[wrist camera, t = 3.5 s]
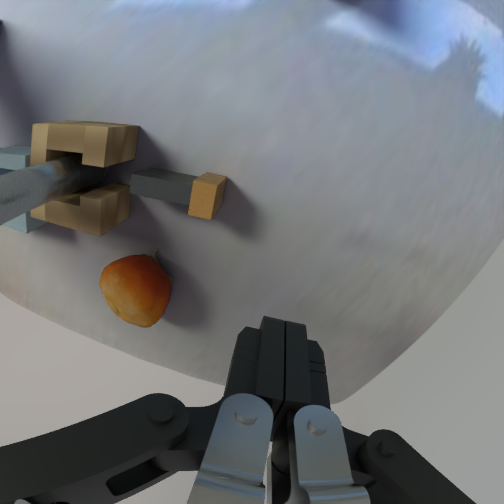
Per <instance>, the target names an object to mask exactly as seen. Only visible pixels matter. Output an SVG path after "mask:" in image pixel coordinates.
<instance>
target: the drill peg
mask: <svg viewBox="0 0 504 504" xmlns="http://www.w3.org/2000/svg"><path fill="white" fill-rule="evenodd" d="M82 158H83V153H81V154H77V155H72V156H68V157H63V158H59V159H55V160H51V161H47V162H43V163H40V164H36V165H32V166H29V167H25V168H22V169H19V170H15V171H12V172H9V173H6V174H3V175H0V225H2V224H4V223H6V222H8V221H10V220H12V219H14V218H16V217H18V216H20V215H22V214H24V213H26V212H28V211H31V210H33V209H35V208H37V207H39V206H41V205H44V204H46V203H48V202H50V201H53V200H55V199H57V198H60V197H62V196H64V195H67V194H69V193H72V192H74V191H77V190H79V189H82V188H84V187H87V186H89V185H92V184H95V183H97V182H100V181H102V180H103V179H104V178H105V177H106V175H107V172H108V166H107V167H98V166H91V165H85V164H82Z"/></svg>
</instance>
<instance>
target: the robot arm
mask: <svg viewBox="0 0 504 504" xmlns="http://www.w3.org/2000/svg"><path fill="white" fill-rule="evenodd" d="M0 21H1V20H0ZM324 364H325V360H324V353H323V351H322V349H321V347H320V346H319V344H318V343H317V341H313V340H308V339H307V332H306V325H304V324H299V323H295V322H290V321H284V320H280V319H276V318H271V317H267V316H264V317H263V319H262V322H261V325H260V328H259V329H255V328H251V327H247V326H246V327H245V328H244V329H243V330H242V331H241V332H240V333H239V334H238V337H237V341H236V345H235V349H234V353H233V357H232V360H231V364H230V369H229V373H228V378H227V382H226V387H225V391H224V396H223V397H222V399H221V400H220V401H218V402H217V403H215V404H213V405H210V406H205V407H185V405H184V404H183V403H182V402H181V401H180V400H178V399H177V398H175V397H173V396H171V395H168V394H162V393H154V394H149V395H146V396H144V397H142V398H139V399H137V400H135V401H132V402H130V403H127V404H125V405H123V406H120V407H118V408H115V409H113V410H110V411H108V412H105V413H103V414H100V415H97V416H95V417H92V418H90V419H87V420H84V421H81V422H79V423H76V424H73V425H70V426H68V427H65V428H62V429H59V430H56V431H53V432H50V433H47V434H43V435H40V436H37V437H34V438H31V439H27V440H24V441H21V442H17V443H13V444H10V445H6V446H2V447H0V504H114V503H117V502H119V501H121V500H123V499H126V498H128V497H130V496H132V495H134V494H136V493H138V492H140V491H142V490H144V489H146V488H148V487H150V486H152V485H154V484H156V483H158V482H160V481H162V480H164V479H166V478H167V477H169V476H171V475H173V474H175V473H176V472H178V471H195V470H196V471H198V470H199V471H198V474H197V476H196V479H195V482H194V485H193V487H192V490H191V493H190V496H189V499H188V501H187V504H264V499H265V485H263V476H264V470H265V464H266V459H267V453H268V448H269V442H270V441H271V442H273V443H272V452H271V453H270V455H269V456H268V459H267V504H476V503H475V502H474V501H472V500H471V499H470V498H469V497H468V496H467V495H465V494H464V493H463V492H462V491H461V490H459V489H458V488H457V487H456V486H455V485H454V484H453V483H452V482H450V481H449V480H448V479H447V478H446V477H445V476H443V475H442V474H441V473H440V472H439V471H438V470H437V469H435V467H433V466H432V465H431V464H430V463H429V462H428V461H427V460H426V459H425V458H423V457H422V456H421V455H420V454H419V453H418V452H417V451H416V450H414V448H412V447H411V446H410V445H409V444H408V443H407V442H406V441H405V440H404V439H403V438H402V437H401V436H399V435H398V434H397V433H395V432H393V431H390V430H385V429H382V430H377V431H375V432H373V433H372V434H371V435H370V436H366V435H362V434H360V433H357V432H354V431H351V430H349V429H347V428H344V427H343V426H342V425H341V421H340V419H339V418H338V416H337V415H336V414H335V413H334V412H333V411H331V408H330V400H329V391H328V383H327V375H326V368H325V365H324Z"/></svg>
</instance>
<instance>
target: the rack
mask: <svg viewBox="0 0 504 504" xmlns="http://www.w3.org/2000/svg"><path fill="white" fill-rule="evenodd" d="M30 157H31V146H17V145H14V146H9V147H5V148H1V149H0V175H3V174H6V173H9V172H12V171H15V170H19V169H22V168H25V167H29V166H30ZM45 223H47V221H43V220H40V219H36V218H33V217H31V213H30V211H28V212H26V213H24V214H22V215H20V216H18V217H16V218H14V219H12V220H10V221H8V222H6V223H4V224H2V225H4V226H7V227H10V228H12V229H15V230H18V231H21V232H24V233H29V232H31V231H33V230H34V229H36V228H38V227H40V226H42V225H43V224H45Z"/></svg>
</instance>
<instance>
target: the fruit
mask: <svg viewBox="0 0 504 504" xmlns="http://www.w3.org/2000/svg"><path fill="white" fill-rule="evenodd" d="M156 251H157V249H155V251H154V252H153V254H152V255H151V256H148V255H145V254H142V255H131V256H127V257H124V258H121V259H119V260H116V261H114V262H112V263H110V264H109V265H108V266H106V267H105V268H104V270H103V272H102V274H101V278H100V287H101V289H102V293H103V295H104V298H105V300H106V302H107V304H108V306H109V307H110V309H111V310H112V311H113V312H114V313H115V314H116V315H117V316H118V317H120V318H121V319H122V320H124V321H126V322H128V323H130V324H133V325H137V326H140V327H144V328H147V327H151V326H152V325H153V324H155V323H156V322H157V321H158V320H159V319H160V318H161V317H162V315H163V314H164V312H165V310H166V308H167V305H168V303H169V300H170V295H171V290H172V284H173V280H174V278H171V277H170V276H169V275H168V274H167V273H166V272H165V271H164V270H163V268H162V267H161V265H160V264H159V262H158V260H157V258H156V255H155V253H156Z"/></svg>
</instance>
